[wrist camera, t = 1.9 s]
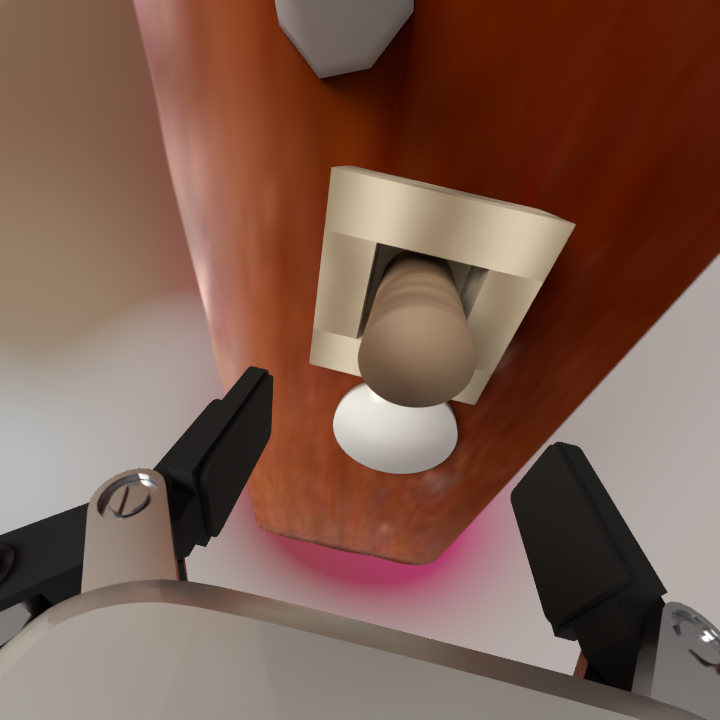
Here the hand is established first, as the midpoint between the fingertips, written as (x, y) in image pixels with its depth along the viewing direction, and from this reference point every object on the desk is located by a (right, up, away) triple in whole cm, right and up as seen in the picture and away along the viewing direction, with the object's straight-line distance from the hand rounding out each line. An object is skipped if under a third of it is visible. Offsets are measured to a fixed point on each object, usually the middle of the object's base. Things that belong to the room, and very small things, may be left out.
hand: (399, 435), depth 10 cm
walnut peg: (+3, +8, +11) cm, 14 cm away
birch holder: (+3, +8, +12) cm, 15 cm away
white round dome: (+2, -4, +20) cm, 21 cm away
